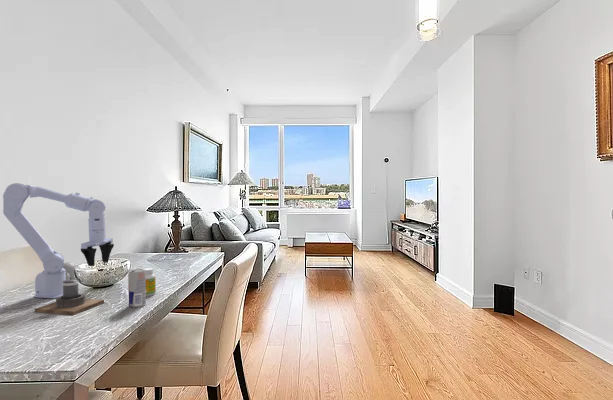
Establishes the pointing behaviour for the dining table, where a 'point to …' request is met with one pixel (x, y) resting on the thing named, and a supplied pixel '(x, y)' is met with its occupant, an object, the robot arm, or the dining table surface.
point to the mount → (69, 305)
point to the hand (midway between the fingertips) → (98, 263)
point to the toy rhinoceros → (69, 270)
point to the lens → (70, 289)
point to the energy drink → (137, 288)
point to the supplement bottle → (149, 281)
